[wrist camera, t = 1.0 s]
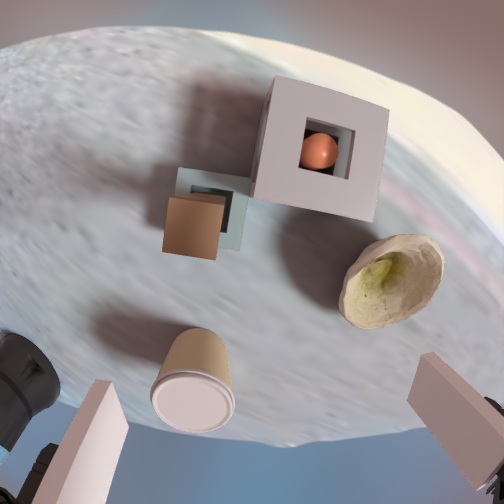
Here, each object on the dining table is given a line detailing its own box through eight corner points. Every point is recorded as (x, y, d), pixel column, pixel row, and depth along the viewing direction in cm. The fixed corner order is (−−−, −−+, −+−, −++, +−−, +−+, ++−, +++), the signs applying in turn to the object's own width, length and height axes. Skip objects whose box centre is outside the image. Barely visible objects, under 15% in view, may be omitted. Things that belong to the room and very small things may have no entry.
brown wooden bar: (195, 218, 34) (161, 251, 17) (199, 191, 34) (168, 197, 16) (221, 222, 35) (215, 260, 17) (226, 195, 34) (224, 205, 16)
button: (290, 166, 32) (301, 163, 27) (295, 137, 32) (307, 129, 27) (320, 173, 33) (335, 171, 28) (325, 144, 32) (340, 138, 27)
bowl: (315, 318, 39) (339, 356, 30) (329, 217, 36) (363, 228, 27) (402, 316, 41) (438, 345, 31) (420, 227, 38) (464, 240, 28)
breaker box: (246, 195, 35) (253, 198, 26) (263, 102, 33) (275, 75, 23) (338, 213, 36) (372, 222, 27) (353, 124, 34) (389, 109, 25)
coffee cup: (154, 338, 38) (131, 390, 27) (211, 311, 38) (205, 361, 26) (189, 385, 40) (180, 442, 29) (244, 362, 40) (250, 419, 28)
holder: (174, 233, 35) (167, 239, 31) (184, 169, 34) (178, 167, 30) (238, 243, 36) (239, 250, 32) (249, 179, 35) (252, 178, 31)
